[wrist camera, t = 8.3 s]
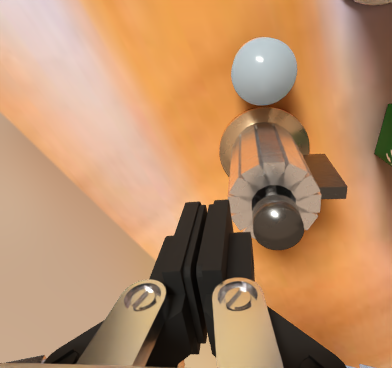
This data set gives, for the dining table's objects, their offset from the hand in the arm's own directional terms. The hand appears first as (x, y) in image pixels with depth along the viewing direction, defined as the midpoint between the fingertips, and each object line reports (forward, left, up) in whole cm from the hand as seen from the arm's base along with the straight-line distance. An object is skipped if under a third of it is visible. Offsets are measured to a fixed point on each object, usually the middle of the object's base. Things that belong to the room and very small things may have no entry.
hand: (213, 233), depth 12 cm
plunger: (-4, +9, -32) cm, 34 cm away
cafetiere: (-4, +9, -35) cm, 37 cm away
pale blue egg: (-4, -3, -36) cm, 36 cm away
